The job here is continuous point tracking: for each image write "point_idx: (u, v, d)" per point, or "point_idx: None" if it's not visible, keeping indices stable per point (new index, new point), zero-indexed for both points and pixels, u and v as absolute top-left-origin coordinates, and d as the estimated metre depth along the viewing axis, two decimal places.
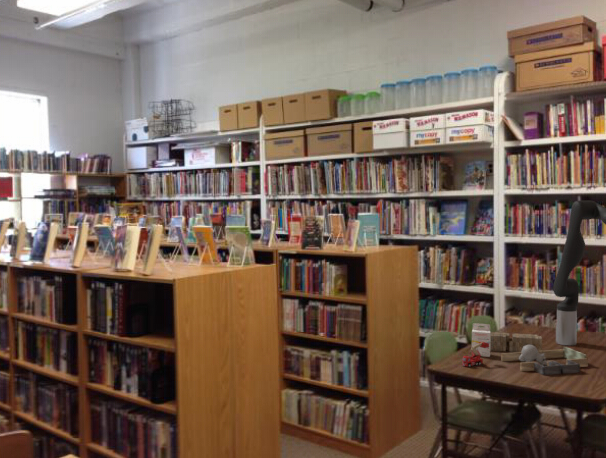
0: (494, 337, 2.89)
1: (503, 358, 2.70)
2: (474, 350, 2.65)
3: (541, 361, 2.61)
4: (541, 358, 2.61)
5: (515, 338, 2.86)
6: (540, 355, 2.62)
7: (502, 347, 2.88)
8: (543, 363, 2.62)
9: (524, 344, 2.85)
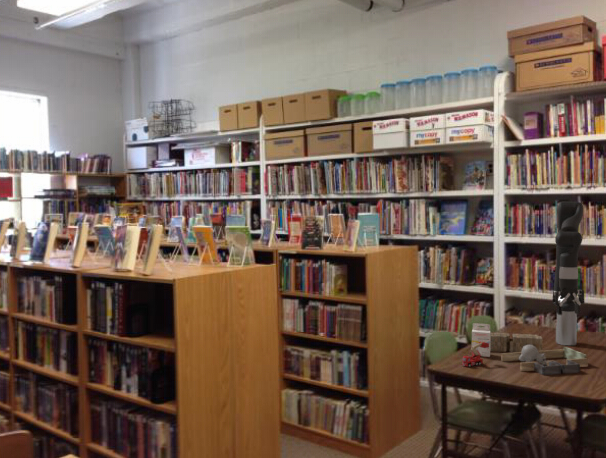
0: (494, 337, 2.88)
1: (503, 358, 2.70)
2: (474, 350, 2.65)
3: (541, 361, 2.61)
4: (541, 358, 2.61)
5: (515, 338, 2.86)
6: (540, 355, 2.62)
7: (503, 347, 2.88)
8: (543, 363, 2.62)
9: (524, 344, 2.85)
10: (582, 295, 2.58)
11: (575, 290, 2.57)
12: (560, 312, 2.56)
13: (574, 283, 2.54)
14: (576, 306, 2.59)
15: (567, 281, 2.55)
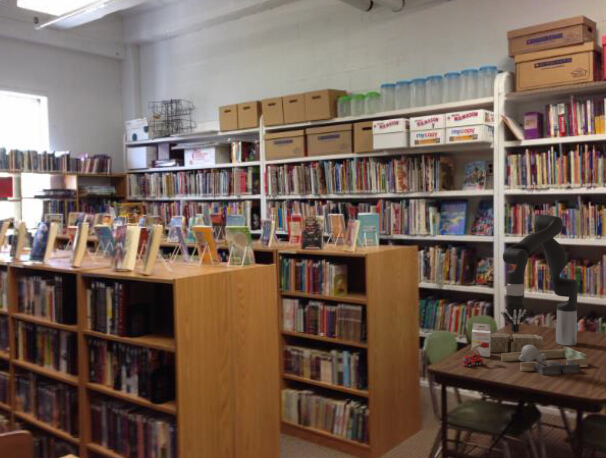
0: (496, 338, 2.87)
1: (503, 358, 2.70)
2: (474, 350, 2.65)
3: (541, 361, 2.61)
4: (541, 358, 2.61)
5: (517, 339, 2.85)
6: (540, 355, 2.62)
7: (504, 348, 2.86)
8: (543, 363, 2.62)
9: (525, 344, 2.84)
10: (525, 315, 2.62)
11: (523, 306, 2.61)
12: (514, 330, 2.61)
13: (519, 299, 2.58)
14: None
15: (513, 297, 2.58)
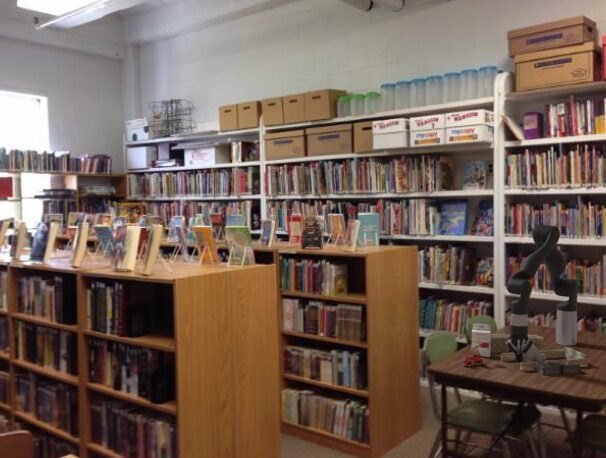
0: (497, 339, 2.85)
1: (503, 358, 2.70)
2: (474, 350, 2.65)
3: (541, 361, 2.61)
4: (541, 358, 2.61)
5: None
6: (540, 355, 2.62)
7: (505, 348, 2.85)
8: (543, 363, 2.62)
9: None
10: (529, 345, 2.63)
11: (527, 336, 2.62)
12: (518, 360, 2.62)
13: (523, 330, 2.59)
14: None
15: (517, 328, 2.60)
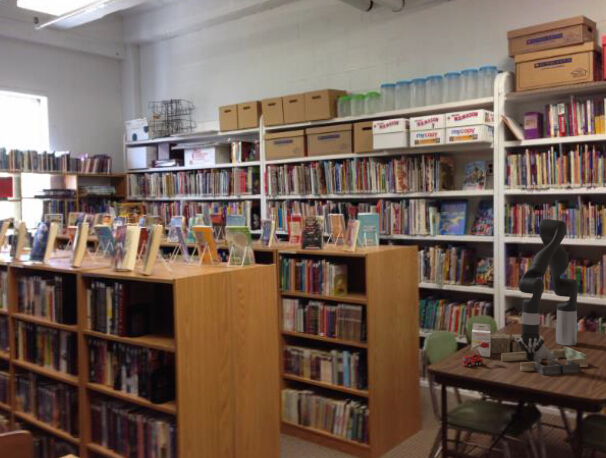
0: (498, 339, 2.84)
1: (503, 358, 2.70)
2: (474, 350, 2.65)
3: (551, 359, 2.64)
4: (551, 356, 2.64)
5: (518, 339, 2.84)
6: (550, 353, 2.64)
7: (506, 348, 2.85)
8: None
9: None
10: (540, 344, 2.64)
11: (538, 335, 2.63)
12: (529, 359, 2.63)
13: (535, 329, 2.60)
14: None
15: (528, 326, 2.61)
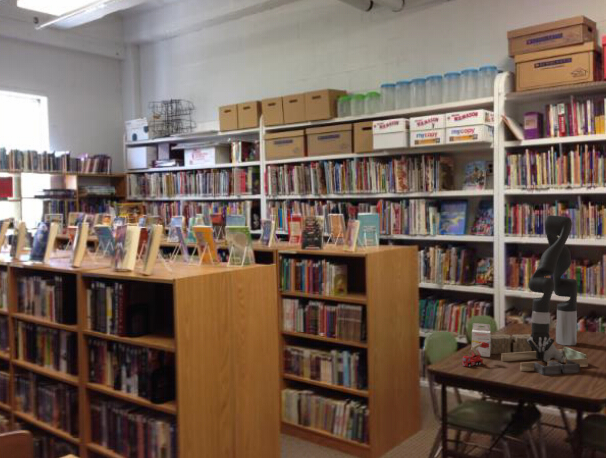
0: (499, 340, 2.84)
1: (503, 358, 2.70)
2: (474, 350, 2.65)
3: (560, 358, 2.65)
4: (560, 355, 2.65)
5: (519, 339, 2.84)
6: (559, 352, 2.66)
7: (507, 349, 2.84)
8: (562, 360, 2.65)
9: (527, 345, 2.84)
10: (550, 343, 2.64)
11: (548, 334, 2.64)
12: (539, 357, 2.64)
13: (545, 328, 2.61)
14: None
15: (538, 325, 2.61)
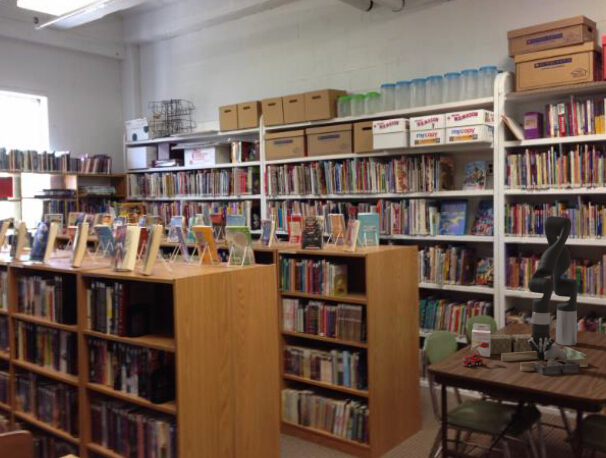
0: (500, 340, 2.83)
1: (503, 358, 2.70)
2: (474, 350, 2.65)
3: (564, 358, 2.65)
4: (564, 355, 2.65)
5: (520, 339, 2.83)
6: (563, 352, 2.66)
7: (507, 349, 2.84)
8: (565, 360, 2.66)
9: (528, 345, 2.84)
10: (550, 343, 2.64)
11: (548, 334, 2.64)
12: (540, 358, 2.64)
13: (545, 328, 2.60)
14: None
15: (539, 326, 2.61)
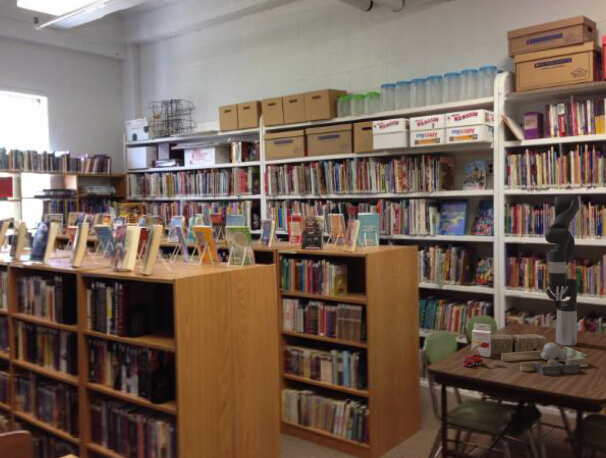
0: (501, 340, 2.83)
1: (503, 358, 2.70)
2: (474, 350, 2.65)
3: (564, 358, 2.65)
4: (564, 355, 2.65)
5: (521, 339, 2.83)
6: (563, 352, 2.66)
7: (509, 349, 2.84)
8: None
9: (529, 345, 2.84)
10: (567, 292, 2.74)
11: (565, 283, 2.73)
12: (557, 306, 2.73)
13: (562, 277, 2.70)
14: None
15: (556, 275, 2.71)
